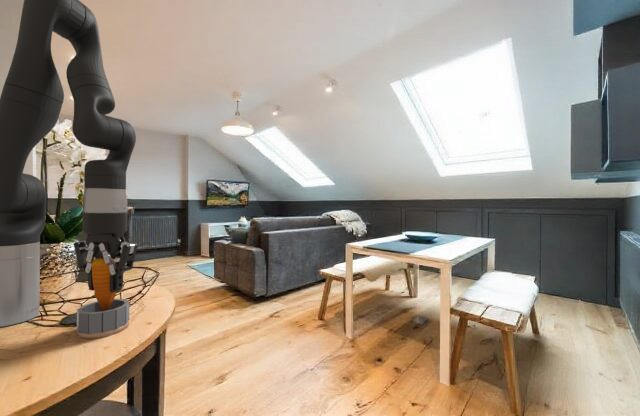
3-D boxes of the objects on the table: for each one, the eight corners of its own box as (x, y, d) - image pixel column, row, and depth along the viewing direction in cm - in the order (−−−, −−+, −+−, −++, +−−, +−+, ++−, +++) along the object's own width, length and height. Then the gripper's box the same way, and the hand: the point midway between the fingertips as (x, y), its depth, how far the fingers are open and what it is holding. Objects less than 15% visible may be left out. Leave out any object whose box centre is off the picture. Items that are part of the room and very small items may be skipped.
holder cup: (68, 341, 54) (68, 315, 54) (89, 323, 62) (89, 300, 62) (120, 335, 57) (120, 311, 57) (133, 318, 65) (134, 297, 65)
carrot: (97, 307, 61) (97, 239, 61) (123, 305, 63) (123, 238, 62) (86, 316, 56) (85, 242, 56) (115, 313, 58) (114, 241, 58)
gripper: (148, 210, 61) (148, 287, 62) (95, 209, 64) (94, 283, 64) (118, 211, 54) (117, 299, 54) (59, 210, 57) (58, 293, 57)
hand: (105, 290), depth 59 cm, fingers closed on carrot, 4 cm apart
